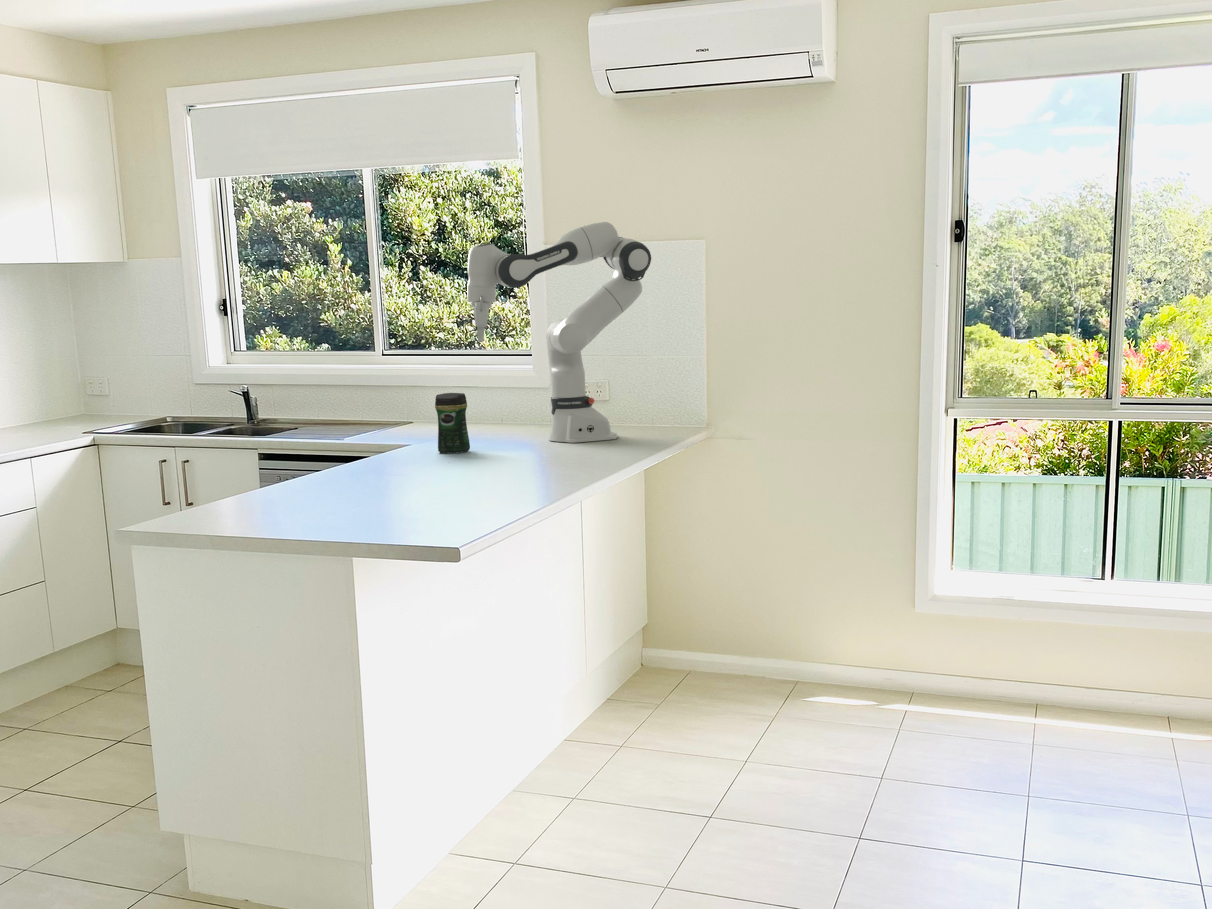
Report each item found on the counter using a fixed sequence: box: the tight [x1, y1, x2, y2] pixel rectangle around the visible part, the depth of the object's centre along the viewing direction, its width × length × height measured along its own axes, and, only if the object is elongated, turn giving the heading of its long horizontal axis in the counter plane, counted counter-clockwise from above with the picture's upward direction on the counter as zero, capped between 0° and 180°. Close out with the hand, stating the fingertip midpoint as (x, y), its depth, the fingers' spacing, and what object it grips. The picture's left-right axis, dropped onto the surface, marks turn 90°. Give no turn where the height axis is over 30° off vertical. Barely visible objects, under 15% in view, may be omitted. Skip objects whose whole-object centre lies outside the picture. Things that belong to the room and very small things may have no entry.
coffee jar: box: [434, 392, 471, 454], centre depth 340 cm, size 10×8×19 cm
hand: (480, 341), depth 343 cm, fingers open, 8 cm apart
